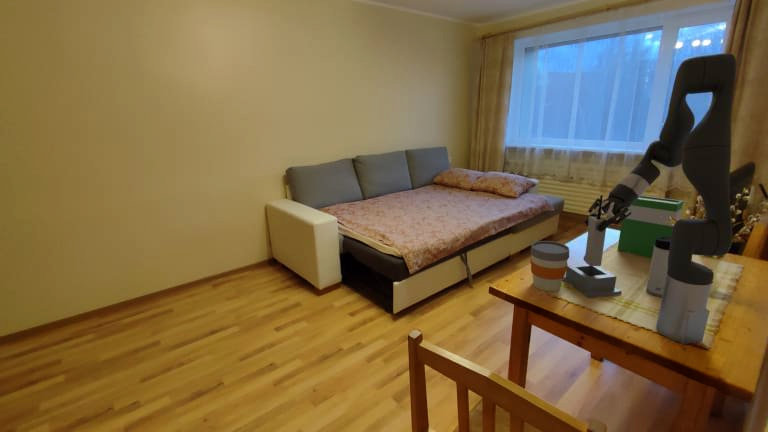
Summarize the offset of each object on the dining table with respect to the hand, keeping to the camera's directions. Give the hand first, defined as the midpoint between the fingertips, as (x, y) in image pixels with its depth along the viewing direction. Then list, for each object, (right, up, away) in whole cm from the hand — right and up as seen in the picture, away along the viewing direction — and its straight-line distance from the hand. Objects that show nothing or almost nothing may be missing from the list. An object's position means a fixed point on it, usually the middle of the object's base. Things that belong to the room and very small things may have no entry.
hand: (592, 227), depth 119 cm
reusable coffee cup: (-12, -22, +8) cm, 26 cm away
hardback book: (+40, -12, +31) cm, 52 cm away
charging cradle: (+3, -21, +7) cm, 22 cm away
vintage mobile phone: (+2, -13, +4) cm, 14 cm away
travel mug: (+22, -23, -1) cm, 31 cm away
